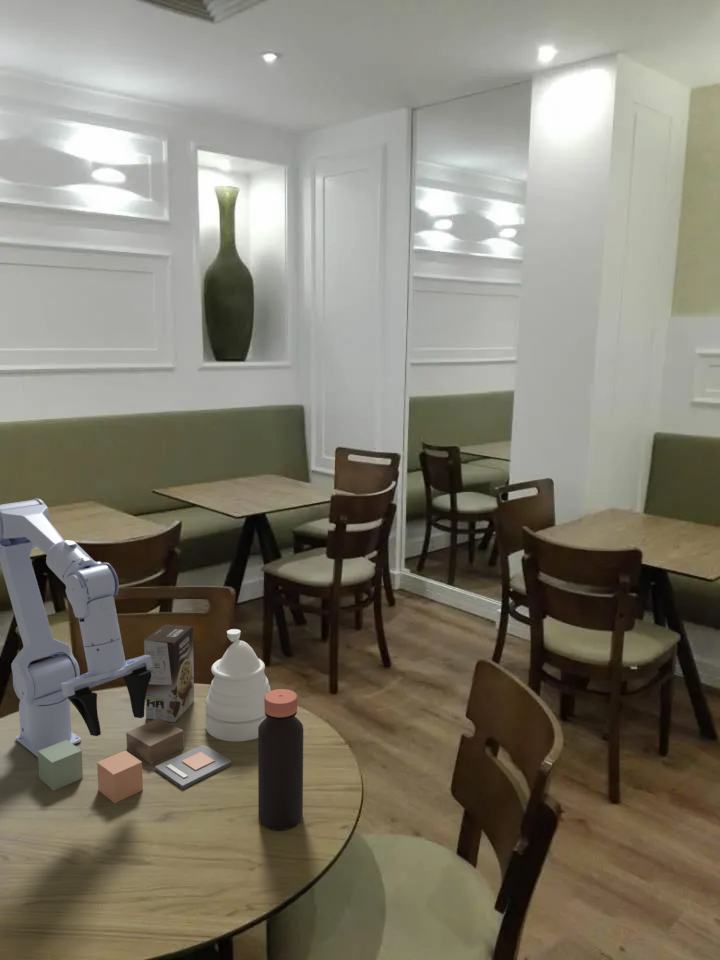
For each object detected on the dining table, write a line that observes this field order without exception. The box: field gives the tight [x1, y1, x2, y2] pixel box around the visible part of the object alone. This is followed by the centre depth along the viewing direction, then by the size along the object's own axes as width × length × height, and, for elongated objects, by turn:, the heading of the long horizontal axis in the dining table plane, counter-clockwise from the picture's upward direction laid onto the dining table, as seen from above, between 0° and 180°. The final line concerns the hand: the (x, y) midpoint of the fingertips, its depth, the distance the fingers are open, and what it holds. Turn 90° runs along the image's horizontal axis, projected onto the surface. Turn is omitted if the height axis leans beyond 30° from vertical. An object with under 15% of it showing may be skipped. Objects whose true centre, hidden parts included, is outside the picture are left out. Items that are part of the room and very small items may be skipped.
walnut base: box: [125, 718, 185, 764], centre depth 133 cm, size 7×7×4 cm
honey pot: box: [204, 628, 272, 742], centre depth 141 cm, size 13×13×18 cm
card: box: [154, 743, 232, 790], centre depth 128 cm, size 8×10×1 cm
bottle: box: [257, 688, 304, 831], centre depth 113 cm, size 7×7×20 cm
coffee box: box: [143, 623, 195, 723], centre depth 146 cm, size 9×6×16 cm
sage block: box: [37, 740, 84, 791], centre depth 123 cm, size 5×5×5 cm
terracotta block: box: [96, 750, 144, 804], centre depth 120 cm, size 5×5×5 cm
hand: (117, 725), depth 119 cm, fingers open, 7 cm apart
